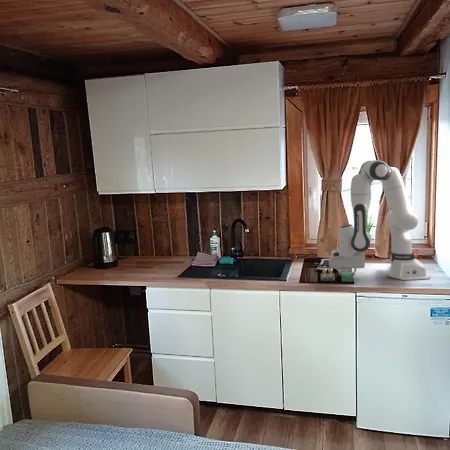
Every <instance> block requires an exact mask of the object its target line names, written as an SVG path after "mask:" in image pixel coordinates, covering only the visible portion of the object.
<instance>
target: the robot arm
mask: <svg viewBox="0 0 450 450" xmlns="http://www.w3.org/2000/svg"><path fill="white" fill-rule="evenodd" d="M400 172H401V171H400V170H399V169H398V168H397V167H392V166H390V165H388V164H387V163H386V162H385V161H383V160H378V159H376V160H375V159H372V160H367V161H365V162H363V163H362V165H361V166H360V168H359V171H358V173H357V174H355V175H354V176H352V178H351V181H350V202H351V208H352V212H353V224H344V225H341V226H339V229H338V248H337V249H334V250H331V252H330V255H329V259H330V260H329V267H330V268H333V269H336V270H337V272H338V275H339V276H342V272H341V271H340V269H353V271H352V276H355V275H356V272H357V269H364V268H365V267H366V266H365V265H366V264H365V263H366V262H365V259H366V254H365V251H367V250H368V249H369V248H370V246H371V241H372V235H371V234H370V232H368V231H367V214H368V211H369V209H370V206H371V201H372V188H371V187H372V184H373V182H374V181H380V182H381V184H382V187H383V188H382V189H383V192H384V196H385V200H386V201H385V202H386V203H387V204H388V206H389V209H390V210H389V211H388V212H387V214H386V220H387V222H388V228H389V233H390V239H391V242H390V243H391V246H390V247H391V251H390V269H389V272H388V276H389V277H391V278H392V279H393V278H394V279H399V280H401V281H413V280H429V279H431V274H430V273H429V272H428V271H427V269H426V266H425V265H424V263H422V262H421V261H420V260H418V259H417V258H418V255H417V253H416V252H413V239H412V236H411V232H410V231H412V230H414V229H416V228H417V226H418V224H419V219H418V216H417V215H416V213H415V212H414V209H413V207H412V205H411V203H410V201H409V198H408V195H407V192H406V187H405V183H404V181H403V177H402V175H401V173H400ZM363 252H364V253H363Z"/></svg>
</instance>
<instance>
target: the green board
mask: <svg viewBox="0 0 450 450" xmlns="http://www.w3.org/2000/svg"><path fill="white" fill-rule="evenodd" d="M340 272H342V276H341V277H340V278H341V282H354V277H353V276H352V272H353V271H352V270H341V271H340Z"/></svg>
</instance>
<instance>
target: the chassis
mask: <svg viewBox="0 0 450 450" xmlns="http://www.w3.org/2000/svg"><path fill="white" fill-rule="evenodd" d="M333 269H334V268H333ZM333 269H331V268H330V269H328V273H327V269H325V267H324V269H323V272H320V282H336V275H335V273H333V272H334V271H333Z"/></svg>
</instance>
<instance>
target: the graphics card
mask: <svg viewBox="0 0 450 450" xmlns="http://www.w3.org/2000/svg"><path fill="white" fill-rule="evenodd" d="M329 260H330V258H320V263H319V264H318V266H317V268H316V269H315V272H316V273H323V269H324V267H325V269H327V273H328V269H330V267H329ZM331 269H334V268H331Z"/></svg>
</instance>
